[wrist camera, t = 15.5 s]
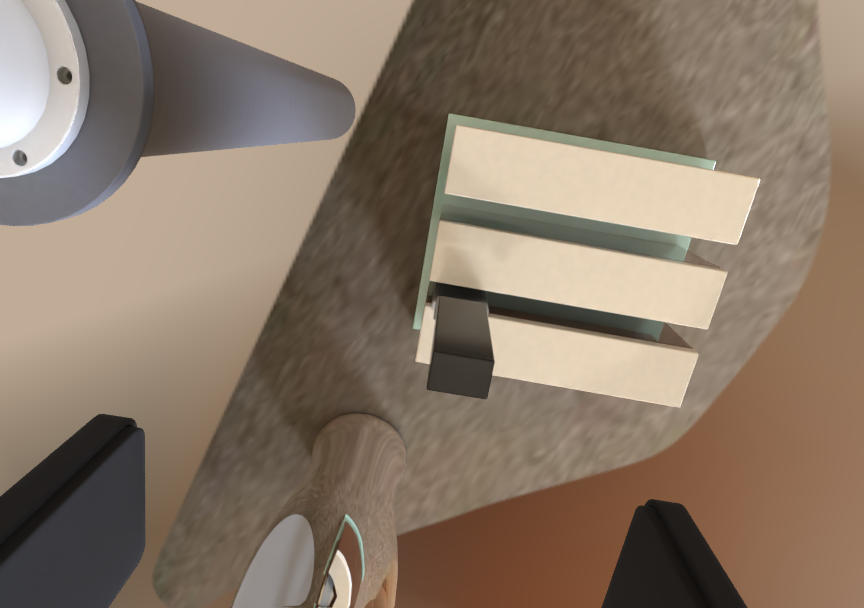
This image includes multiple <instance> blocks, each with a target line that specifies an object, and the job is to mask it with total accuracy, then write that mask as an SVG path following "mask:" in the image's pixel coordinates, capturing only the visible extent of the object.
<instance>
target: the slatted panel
mask: <svg viewBox="0 0 864 608" xmlns="http://www.w3.org/2000/svg"><path fill="white" fill-rule="evenodd" d="M715 163H716V161H715V160H710V159H705V158H699V157H693V156H688V155H682V154H676V153H671V152H665V151H660V150H654V149H648V148H643V147H637V146H631V145H626V144H620V143H614V142H609V141H603V140H598V139H592V138H586V137H581V136H575V135H569V134H564V133H558V132H552V131H547V130H541V129H536V128H530V127H524V126H519V125H513V124H507V123H502V122H496V121H490V120H485V119H479V118H474V117H468V116H462V115H457V114H451V113H449V114H448V120H447V126H446V132H445V138H444V144H443V150H442V156H441V162H440V168H439V174H438V180H437V186H436V192H435V198H434V203H433V209H432V215H431V221H430V227H429V233H428V239H427V245H426V251H425V257H424V263H423V269H422V275H421V281H420V287H419V293H418V299H417V305H416V311H415V317H414V323H413V329H419V330H420V335H419V341H418V347H417V352H416V358H415V361H416V362H421V363H427V364H430V357H431V349H432V341H433V333H434V325H435V320H434V319H433V316H434V310H432V309H431V307H432V300H433V294H434V287H435V282H439V283H444V284H450V285H456V286H462V287H467V288H473V289H479V290H484V291H486V297H487V303H488V309H489V313H488V321H489V327H490V334H491V340H492V347H493V353H494V360H495V364H494V368H493V373H492V375H496V376H501V377H507V378H513V379H519V380H524V381H530V382H536V383H542V384H547V385H553V386H559V387H564V388H570V389H576V390H582V391H587V392H593V393H599V394H605V395H610V396H616V397H622V398H628V399H633V400H639V401H645V402H651V403H656V404H662V405H668V406H674V407H680V406H681V403H682V400H683V397H684V395H685V392H686V389H687V386H688V383H689V380H690V378H691V375H692V372H693V369H694V366H695V363H696V361H697V358H698V353H697V352H696V351H695V350H694V349H693V348H692V347H691V346H690V345H689V344H688V343H687V342H685V341H684V340H683V339H682V338H681V337H680V336H679V335H678V334H677V333H676V332H675V331H674V330H673V329H672V328H671V327H670V326H669V325H667V324H666V323H665V322H667V323H673V324H679V325H684V326H690V327H696V328H701V329H708V327H709V324H710V321H711V318H712V315H713V313H714V310H715V307H716V304H717V301H718V298H719V296H720V293H721V290H722V287H723V284H724V281H725V279H726V276H727V271H725V270H723V269H721V268H719V267H718V266H716V265H714V264H712V263H710V262H708V261H706V260H705V259H703V258H701V257H699V256H697V255H695V254H693V253H692V252H690V251H688V246H689V243H690V240H691V237H693V238H699V239H705V240H710V241H716V242H722V243H727V244H733V245H737V244H738V242H739V239H740V236H741V233H742V230H743V227H744V225H745V222H746V219H747V216H748V213H749V210H750V208H751V205H752V202H753V199H754V196H755V193H756V190H757V188H758V185H759V182H760V178H756V177H751V176H745V175H739V174H734V173H728V172H722V171H717V170H713V169H714V166H715Z"/></svg>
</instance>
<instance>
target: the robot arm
mask: <svg viewBox="0 0 864 608" xmlns="http://www.w3.org/2000/svg"><path fill="white" fill-rule="evenodd" d="M89 87H90V73H89V66H88V60H87V54H86V49H85V46H84V42H83V39H82V36H81V33H80V30H79V27H78V25H77V23H76V21H75V19H74V17H73V15H72V13H71V11H70V9H69V7H68V5H67V3H66V1H65V0H0V178H7V177H17V176H21V175H25V174H29V173H33V172H36V171H38V170H40V169H42V168H44V167H46V166H48V165H50V164H52V163H53V162H54V161H55V160H57V159H58V158H59V157H60V156H61V155H62V154H64V153H65V152H66V151H67V149H68V148H69V146H70V145H71V144H72V142H73V141H74V140H75V138H76V137H77V135H78V133H79V130H80V128H81V126H82V124H83V121H84V119H85V115H86V111H87V106H88V101H89ZM144 436H145V435H144V431H143V429H141V428H137V425H136V422H135V420H133V419H132V418H125V417H119V416H113V415H106V414H99V415H97V416H96V417H94V418H93V419H92V420H91V421H89V422H88V423H87V424H86V425H85V426H83V427H82V428H81V429H80V430H79V431H77V432H76V433H75V434H74V435H73V436H72V437H70V438H69V439H68V440H67V441H66V442H64V443H63V444H62V445H61V446H60V447H59V448H57V449H56V450H55V451H54V452H53V453H51V454H50V455H49V456H48V457H47V458H46V459H44V460H43V461H42V462H41V463H40V464H39V465H37V466H36V467H35V468H34V469H32V470H31V471H30V472H29V473H28V474H26V475H25V476H24V477H23V478H22V479H21V480H19V481H18V482H17V483H16V484H15V485H13V486H12V487H11V488H10V489H9V490H8V491H6V492H5V493H4V494H3V495H2V496H0V608H108V607H109V606H110V604H111V603H112V601H113V600H114V599H115V597H116V596H117V594H118V593H119V591H120V590H121V588H122V587H123V586H124V584H125V582H126V581H127V580H128V578H129V577H130V575H131V574H132V572H133V571H134V570H135V568H136V567H137V565H138V563H139V562H140V560H141V557H142V555H143V552H144V548H145V437H144ZM602 608H747V606H746V605H745V603H744V601H743V600H742V598H741V597H740V595H739V593H738V592H737V590H736V589H735V587H734V585H733V584H732V582H731V580H730V579H729V577H728V576H727V574H726V572H725V571H724V570H723V568H722V566H721V564H720V563H719V561H718V560H717V558H716V556H715V555H714V553H713V552H712V550H711V548H710V547H709V545H708V544H707V542H706V540H705V539H704V537H703V536H702V534H701V532H700V531H699V529H698V528H697V526H696V524H695V523H694V521H693V519H692V518H691V516H690V515H689V513H688V511H687V510H686V508H685V507H684V506H683V505H681V504H679V503H672V502H666V501H660V500H654V499H651V500H648V501H647V503H646V504H645V506H638V508H637V509H636V511H635V513H634V516H633V519H632V522H631V524H630V527H629V530H628V533H627V536H626V539H625V542H624V545H623V547H622V551H621V553H620V556H619V559H618V562H617V565H616V568H615V570H614V573H613V576H612V579H611V582H610V585H609V588H608V591H607V594H606V596H605V599H604V602H603V605H602Z"/></svg>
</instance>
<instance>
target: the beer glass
mask: <svg viewBox="0 0 864 608" xmlns="http://www.w3.org/2000/svg"><path fill="white" fill-rule="evenodd" d="M406 463H407V453H406V448H405V444H404V442H403V440H402V438H401V436H400V435H399V433H398V432H397V431H396V430H395V429H394V428H393V427H392V426H391V425H390V424H388V423H387V422H386V421H384V420H382V419H380V418H378V417H375V416H372V415H368V414H361V413H353V414H346V415H343V416H340V417H337V418H335V419H333V420H332V421H330V422H329V423H327V424H326V425H325V426H324V427H323V428H322V429H321V431H320V432H319V434H318V435H317V437H316V440H315V442H314V446H313V451H312V458H311V465H310V469H309V472H308V473H307V475H306V477H305V479H304V480H303V481H302V483H301V484H300V485H299V487H298V488H297V489H296V490H295V492H294V493H293V494H292V495H291V497H290V498H289V499H288V501H287V502H286V503H285V504H284V506H283V507H282V508H281V510H280V511H279V512H278V514H277V515H276V516H275V518H274V519H273V521H272V522H271V524H270V525H269V527H268V528H267V530H266V531H265V533H264V534H263V536H262V537H261V539H260V541H259V543H258V545H257V547H256V549H255V551H254V553H253V554H252V556H251V558H250V560H249V562H248V565H247V567H246V569H245V572H244V574H243V576H242V578H241V581H240V583H239V585H238V588H237V591H236V593H235V596H234V598H233V601H232V604H231V606H230V608H394V603H395V595H396V585H397V573H398V564H397V563H398V562H397V537H396V525H395V514H394V495H395V491H396V489H397V487H398V484H399V482H400V480H401V478H402V476H403V474H404V471H405V468H406Z"/></svg>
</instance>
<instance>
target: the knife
mask: <svg viewBox="0 0 864 608" xmlns="http://www.w3.org/2000/svg"><path fill="white" fill-rule="evenodd" d="M431 309H432V310H434V316H433V319H434V320H435V325H434V333H433V341H432V349H431V357H430V365H429V373H428V381H427V390H432V391H438V392H444V393H450V394H456V395H463V396H469V397H475V398H481V399H487V397H488V392H489V387H490V383H491V378H492V373H493V368H494V364H495V360H494V353H493V347H492V340H491V334H490V327H489V321H488V313H489V309H488V303H487V297H486V291H484V290H479V289H473V288H467V287H462V286H456V285H450V284H444V283H439V282H435V287H434V294H433V300H432V307H431Z"/></svg>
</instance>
